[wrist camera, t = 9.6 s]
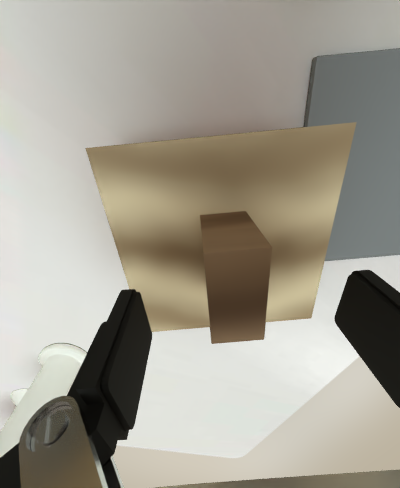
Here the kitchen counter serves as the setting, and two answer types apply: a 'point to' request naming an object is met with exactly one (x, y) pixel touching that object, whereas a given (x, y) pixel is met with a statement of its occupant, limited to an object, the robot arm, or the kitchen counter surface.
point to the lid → (225, 224)
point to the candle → (43, 389)
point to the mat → (362, 148)
